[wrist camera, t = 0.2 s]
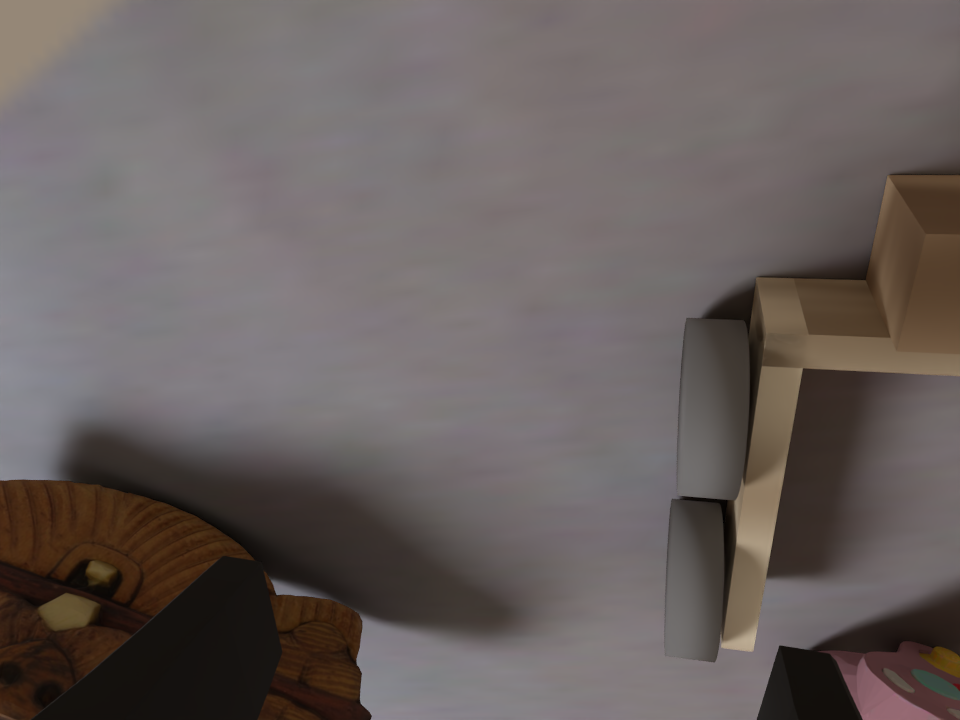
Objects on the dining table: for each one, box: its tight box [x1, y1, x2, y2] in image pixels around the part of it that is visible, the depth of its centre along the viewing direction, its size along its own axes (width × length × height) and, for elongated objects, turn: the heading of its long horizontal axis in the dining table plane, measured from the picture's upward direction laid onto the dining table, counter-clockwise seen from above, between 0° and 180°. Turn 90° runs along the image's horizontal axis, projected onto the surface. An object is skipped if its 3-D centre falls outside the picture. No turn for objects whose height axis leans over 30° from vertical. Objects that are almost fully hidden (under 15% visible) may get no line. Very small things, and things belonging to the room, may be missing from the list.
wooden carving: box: [0, 480, 372, 720], centre depth 23 cm, size 16×5×10 cm, turn 75°
